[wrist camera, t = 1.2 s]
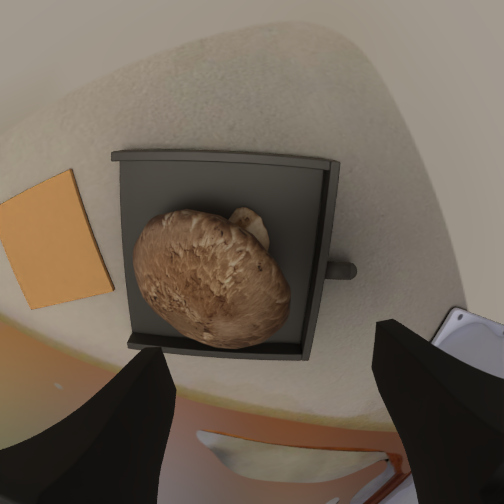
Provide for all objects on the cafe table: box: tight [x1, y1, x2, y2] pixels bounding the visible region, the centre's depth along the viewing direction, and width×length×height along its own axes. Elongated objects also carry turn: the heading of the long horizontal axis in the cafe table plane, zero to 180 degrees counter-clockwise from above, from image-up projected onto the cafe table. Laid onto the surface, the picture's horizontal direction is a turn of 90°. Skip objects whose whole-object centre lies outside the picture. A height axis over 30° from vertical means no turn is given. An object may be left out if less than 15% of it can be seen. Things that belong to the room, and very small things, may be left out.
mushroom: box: [133, 207, 291, 349], centre depth 16 cm, size 8×8×6 cm
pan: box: [111, 149, 357, 361], centre depth 18 cm, size 14×12×2 cm
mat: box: [0, 169, 115, 310], centre depth 18 cm, size 8×8×1 cm
